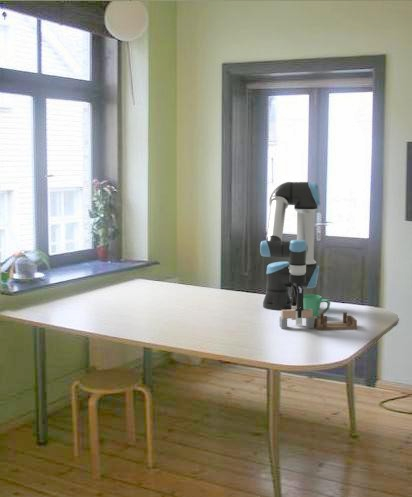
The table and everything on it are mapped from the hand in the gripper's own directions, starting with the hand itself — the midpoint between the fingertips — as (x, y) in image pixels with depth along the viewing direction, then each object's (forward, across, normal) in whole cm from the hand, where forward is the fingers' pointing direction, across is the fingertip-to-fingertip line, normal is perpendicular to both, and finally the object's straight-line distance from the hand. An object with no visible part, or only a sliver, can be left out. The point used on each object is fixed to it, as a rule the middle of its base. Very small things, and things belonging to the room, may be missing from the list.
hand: (296, 321), depth 332 cm
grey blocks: (+2, 0, 0) cm, 2 cm away
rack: (+2, +2, +18) cm, 18 cm away
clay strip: (-2, 0, 0) cm, 2 cm away
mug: (+3, -18, +14) cm, 23 cm away
